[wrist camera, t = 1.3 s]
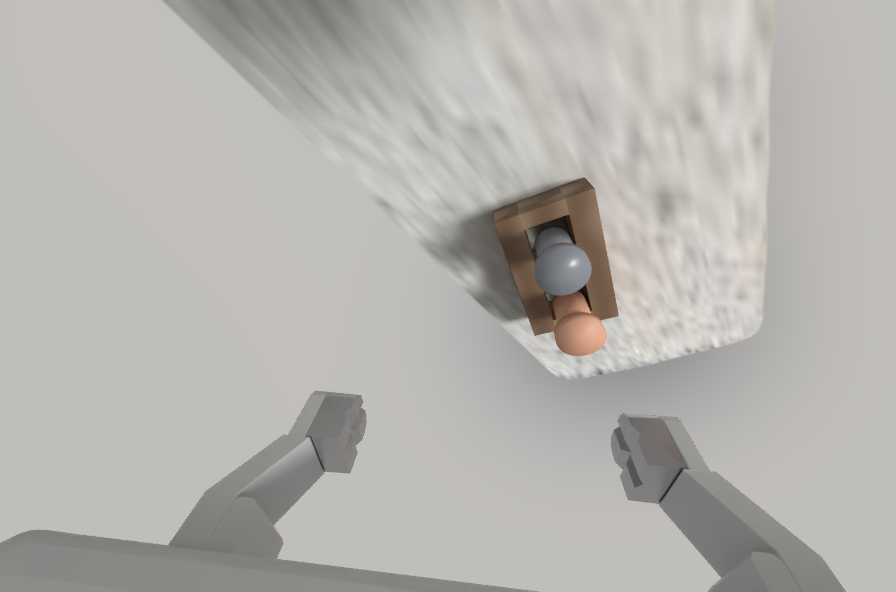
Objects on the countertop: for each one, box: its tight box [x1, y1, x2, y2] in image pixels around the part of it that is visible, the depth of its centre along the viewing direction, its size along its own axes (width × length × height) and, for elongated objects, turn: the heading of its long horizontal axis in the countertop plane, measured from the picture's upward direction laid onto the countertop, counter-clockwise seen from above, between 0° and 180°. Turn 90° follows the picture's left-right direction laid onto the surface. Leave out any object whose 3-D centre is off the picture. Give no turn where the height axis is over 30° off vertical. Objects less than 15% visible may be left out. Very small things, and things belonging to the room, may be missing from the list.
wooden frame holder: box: [494, 178, 619, 336], centre depth 38 cm, size 10×16×4 cm, turn 23°
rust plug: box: [553, 291, 607, 356], centre depth 36 cm, size 5×5×6 cm
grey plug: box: [534, 227, 592, 296], centre depth 32 cm, size 5×5×6 cm
